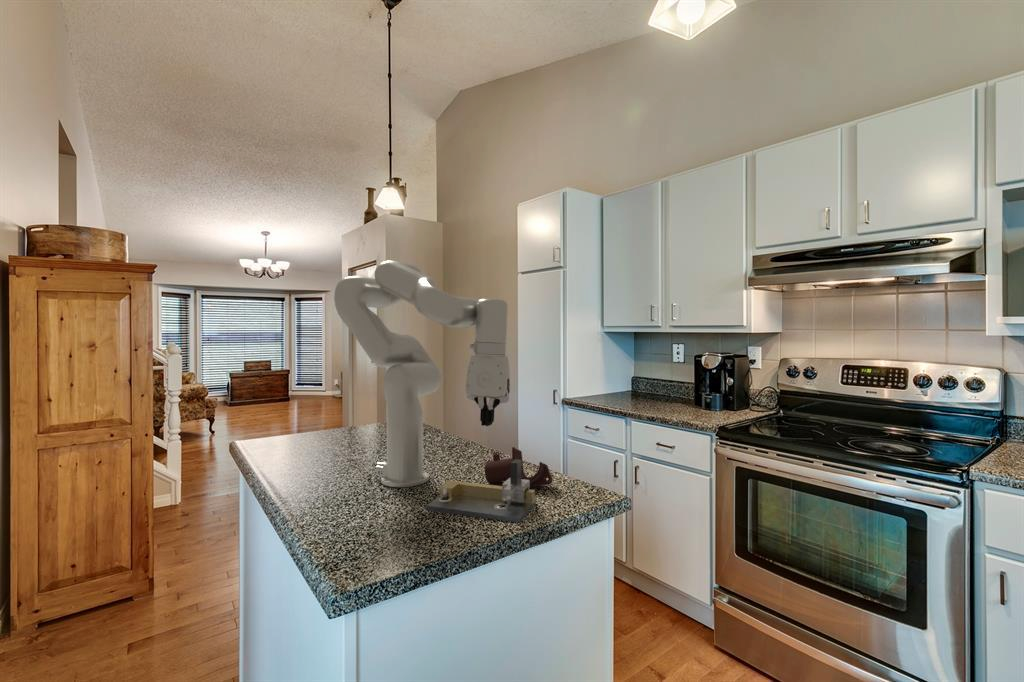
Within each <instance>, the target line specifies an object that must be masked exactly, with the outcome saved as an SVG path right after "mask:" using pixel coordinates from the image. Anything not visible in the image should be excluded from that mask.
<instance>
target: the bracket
mask: <svg viewBox="0 0 1024 682" xmlns="http://www.w3.org/2000/svg"><path fill="white" fill-rule="evenodd" d="M511 456H512V457H511V458H505V459H504V458H503V459H501V457H500V453H499V452H494V453H493V454H492V460H491V461H490V460H489V461H486V462H485V464H484V475H485V480H486V481H487V483H488V484H493V483H494V484H495V483H501V482H505V481H506V480H508V479H509V478H511V462H512V461H514V460H515V459H517V460H522V479H525V480H530V488H532V487H540V486H541V487H542V486H549V485H551V484H552V483H553V476H552V474H551V471H550V469H549V465H547V464H546V463H544V462H542V461H539V463H538V467H539V468H538V469H537V471H536V473H534V475H532V476H530V477H528V476H527V475H526V474H525V471H524V464H523V452H522V450H520V449H518V448H517V447H515V446H513V447H511Z"/></svg>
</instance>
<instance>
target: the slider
mask: <svg viewBox="0 0 1024 682" xmlns="http://www.w3.org/2000/svg"><path fill="white" fill-rule="evenodd" d="M522 461H523V459H522V460H517V459H515V460H514V461H512V462H511V478H509V479H508V480H506V481H503V483H502V485H501V486H502V500H504V501H507V506H511V501H512V502H520V503H523V502H524V490H525V489H530V488H531V487H530V480H525V479H522ZM530 490H531V489H530Z"/></svg>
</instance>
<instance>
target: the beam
mask: <svg viewBox="0 0 1024 682" xmlns="http://www.w3.org/2000/svg"><path fill="white" fill-rule="evenodd" d="M457 495H466V496H474V497H482V498H490V499H498V500H502V485H494V484H487V483H486V484H485V483H478V482H477V483H475V482H467V481H459V480H458V481H457V480H450V479H448V480H447V481H445V483H444V484H443V485H441V486H440V487H439V497H440V498H443V499H447V498H449V499H453V498H454V497H456V496H457ZM535 499H536V490H535V489H525V490H524V502H523V503H530V504H533V503H534V501H535Z"/></svg>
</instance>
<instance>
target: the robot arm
mask: <svg viewBox="0 0 1024 682" xmlns="http://www.w3.org/2000/svg"><path fill="white" fill-rule="evenodd" d="M333 299H334V307H335V309H336V312H337V315H338V316H339V318H340V319H341V320H342V322H343V323H344V324H345V325H346V327H347V328H348V329H349V331H350V332H351V333H352V334H353V336H354V337H355V339H356V340H357V342H358V344H360V346H361V347H362V349H363V350H364V352H365V354H366V355H367V356H368V358H369V359H370V361H371V362H372V363H373V364H374V365H375V366H377V367H380V368H387V369H386V371H385V372H384V374H383V377H382V389H383V393H384V399H385V404H386V405H385V406H386V462H384V461H383V462H382V461H378V462H377V463H376V465H375V469H374V470H375V472H382V476H381V477H380V483H381V485H384V486H386V487H391V488H409V487H410V488H412V487H416V486H420V485H423V484H424V483H427V482H428V481H429V479H430V478H429V477H430V475H429V473H427V472H426V471H424V412H423V411H424V410H423V408H422V404H421V402H420V400H419V397H422V396H427V395H431V394H433V393H435V392H436V391H437V390H438V389H439V387H441V382H442V377H441V376H442V375H441V372H440V370H439V366H438V365H437V364H436V362H435V361H434V360H433V359H432V357H431V356H430V355H429V353H428V352H427V351H426V349H425V348H424V346H423V344H422V343H420V341H419V340H418V339H417V338H416V337H415V336H413V335H410V334H408V333H402V332H400V333H399V332H397V333H396V332H392V331H391V330H390V329H389V328H388V327H387V326H386V325H385V323H384V322H383V320H382V319H381V317H380V316H378V315H377V313H375V312H373V311H372V309H373V308H374V309H385V308H389V307H391V306H393V305H395V304H397V303H399V302H401V301H404V302H407V303H409V304H411V305H413V306H414V307H415V309H416V310H417V311H418V313H420V314H421V315H423V316H424V317H426V318H427V319H430V320H432V321H433V322H435V323H437V324H439V325H442V326H444V327H449V328H463V329H473V328H474V329H475V331H474V333H475V334H474V342H473V343H470V345H469V349H470V350H473V353H474V354H471V355H470V358H469V360H468V361H469V362H468V368H467V373H466V381H465V391H466V394H467V395H466V398H467V399H468V400H471V401H474V402H475V403H476V404H477V406H478V408H479V409H480V417H479V421H480V422H481V426H482V427H484V426H485V427H489V426H492V424H493V423H494V422H495V409H496V408H497V407H498V406H499V405H500V404H506V403H509V402H510V396H509V395H510V392H511V372H510V362H509V357H508V355H506V349H507V348H506V347H507V346H506V345H507V329H508V327H507V326H508V303H507V301H506V300H504V299H501V298H481V299H477V298H472V297H466V296H458V295H457V296H456V295H452V294H449V293H448V292H446V291H443V290H441V289H439V288H437V287H436V284H435V282H434V279H433V278H432V277H431V276H428V275H426V274H424V273H423V272H422V271H421V269H420V268H419V267H417V266H416V265H414V264H411V263H407V262H402V261H397V260H386V261H382V262H380V263H379V264H378V265H377V266H376V267H375V270H374V273H373V277H368V276H362V275H352V276H351V275H350V276H345V277H344V278H342V279H339V281H338V283H337V284H336V286H335V288H334V295H333ZM370 308H372V309H370Z"/></svg>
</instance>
